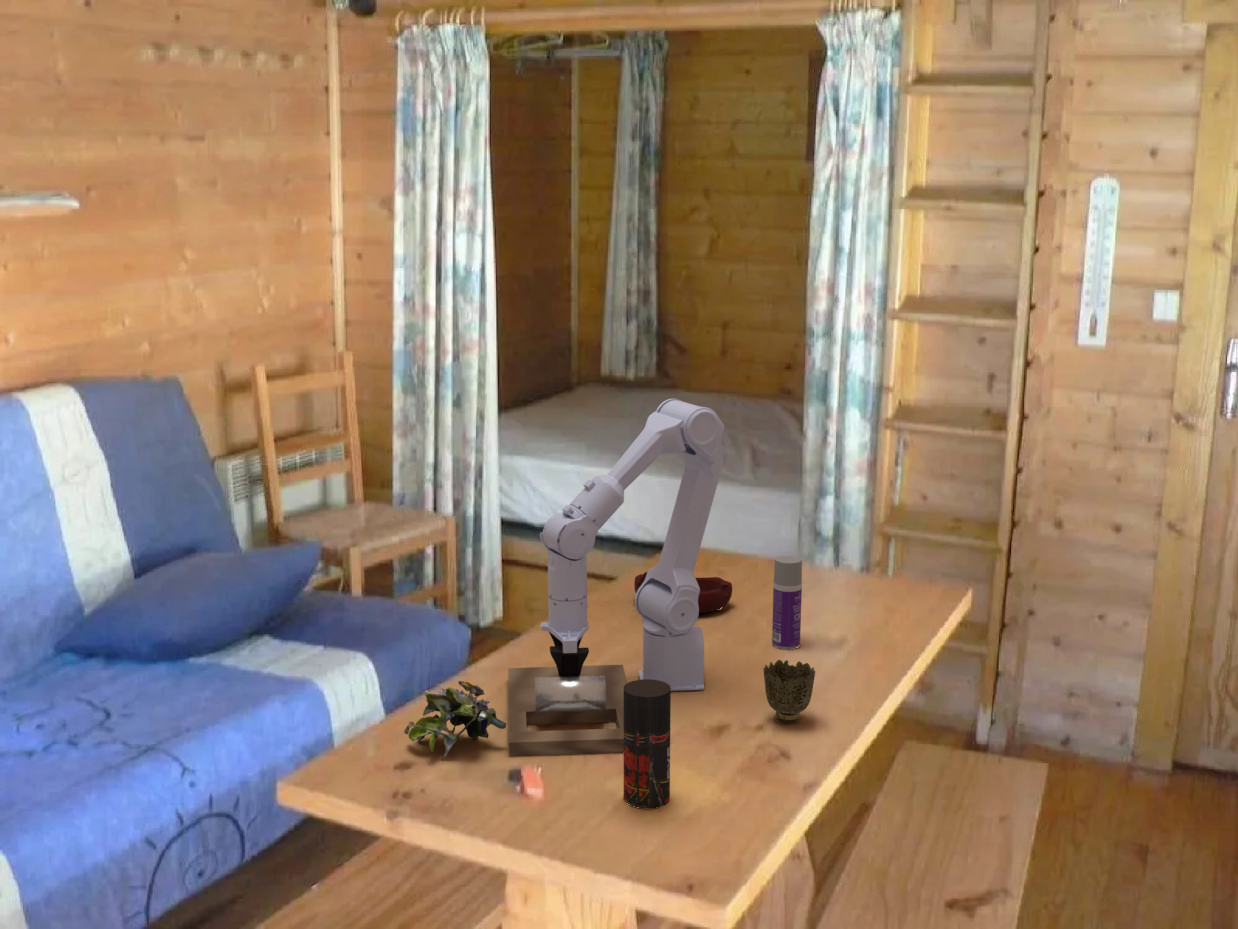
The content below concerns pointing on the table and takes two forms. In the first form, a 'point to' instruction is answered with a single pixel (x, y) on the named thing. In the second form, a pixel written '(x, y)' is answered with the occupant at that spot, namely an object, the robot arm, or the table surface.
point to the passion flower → (454, 716)
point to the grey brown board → (564, 715)
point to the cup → (788, 689)
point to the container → (787, 602)
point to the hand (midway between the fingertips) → (568, 682)
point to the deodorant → (647, 743)
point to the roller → (570, 694)
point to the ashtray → (704, 592)
